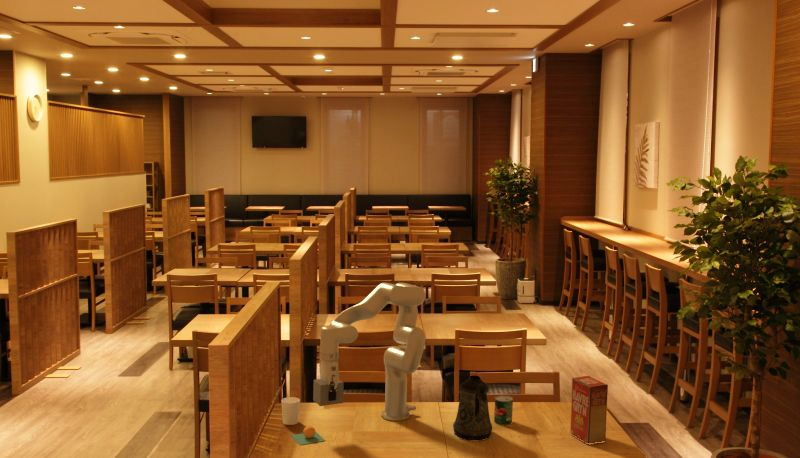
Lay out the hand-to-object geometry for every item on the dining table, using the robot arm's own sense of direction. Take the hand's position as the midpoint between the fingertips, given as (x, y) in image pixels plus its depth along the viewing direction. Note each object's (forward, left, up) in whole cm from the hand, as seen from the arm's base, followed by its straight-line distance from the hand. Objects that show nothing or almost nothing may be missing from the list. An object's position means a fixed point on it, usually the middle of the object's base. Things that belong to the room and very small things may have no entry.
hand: (328, 397), depth 326 cm
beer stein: (-57, +25, -17) cm, 64 cm away
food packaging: (-98, +48, -17) cm, 110 cm away
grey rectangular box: (0, 0, -2) cm, 2 cm away
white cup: (+9, -20, -17) cm, 28 cm away
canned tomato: (-76, +18, -17) cm, 79 cm away
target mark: (+9, 0, -16) cm, 19 cm away
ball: (+8, 0, -14) cm, 16 cm away
